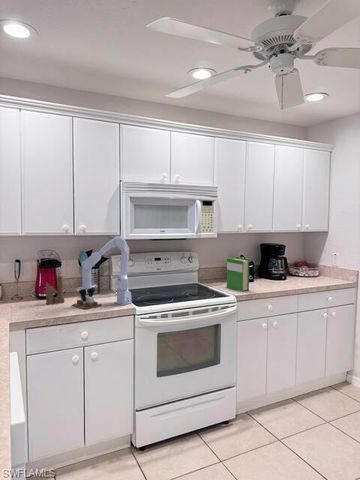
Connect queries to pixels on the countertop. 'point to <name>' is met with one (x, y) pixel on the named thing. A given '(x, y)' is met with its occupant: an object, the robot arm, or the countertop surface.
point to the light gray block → (88, 300)
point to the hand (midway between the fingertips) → (87, 300)
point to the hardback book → (238, 274)
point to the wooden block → (51, 290)
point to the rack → (86, 305)
